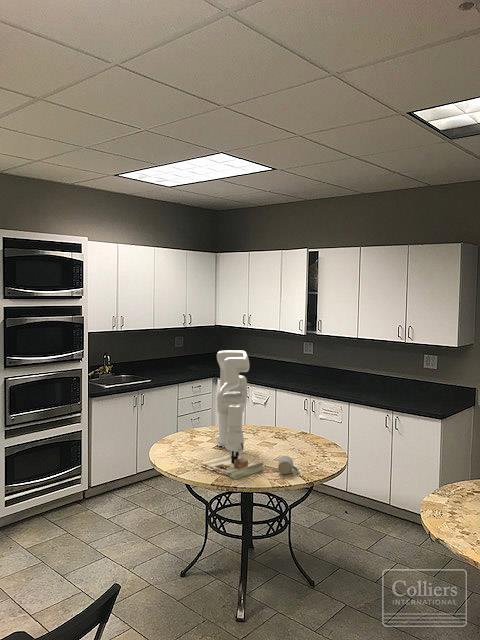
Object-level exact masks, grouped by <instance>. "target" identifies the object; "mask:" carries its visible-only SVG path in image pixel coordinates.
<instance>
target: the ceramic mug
mask: <svg viewBox="0 0 480 640" xmlns="http://www.w3.org/2000/svg"><path fill="white" fill-rule="evenodd" d="M277 465H278V466H277V469H278V472H279V473H281V474H282V475H289V474H291V473H292V474H294V475H297V474H299V472H300V470H299V468H298V467H296V466H294V460H293V459H292V458H291V457H290V456H288V455H283V456H281V457H280V458H278V464H277Z"/></svg>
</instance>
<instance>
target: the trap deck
mask: <svg viewBox="0 0 480 640" xmlns="http://www.w3.org/2000/svg"><path fill="white" fill-rule="evenodd" d="M239 458H240V457H238V459H239ZM201 465H203V466H205V467H208V468H210V469H213V470H215V471H218V472H221V473H224V474H226V475H229V476H231V477H233V478H232V479H234V478H238V479H240V477H241V478H243V476H244V477H246V475H247V476H249V475H252V474H254V473H255V474H256V473H258V472H261V471H263V470H264V462H263V461H260V462H256V463H255V462H252V461H249V460H248V467H245V468H242V469H237V468H234V464H233V463H231V455H230V454H225V455H222V456H220V457H216V458H213V459H210V460H205V461H203V462H202V461H201V462H200V466H201ZM219 467H225V468H228V469H225V468H224V469H223V468H219ZM215 471H214V472H215ZM226 475H225V476H226ZM231 477H230V478H231Z"/></svg>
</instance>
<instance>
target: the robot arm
mask: <svg viewBox="0 0 480 640" xmlns="http://www.w3.org/2000/svg"><path fill="white" fill-rule="evenodd" d="M216 360H217V363H218V365H219V368H220V372H219V373H220V374H219V375H220V376H219V377H220V379H219V381H220V382H219V383H220V385H219V386H220V389H219V390H218V392H217V396H216V402H217V403H216V404H217V405H216V408H217V410H216V411H217V414H218V434H217V435H216V436H215V437H214V438H215V440H217V441H216V442H215V445H216V444H217V445H218V446H217V445H216V446H217V447H219V446H223V447H222V448H224V447H225V450H227V451H228V452H229V453H230V454H229V455H231V463H233V464H234V460H235V459H238V458H239V456H240V455H242V454H243V453H244V449H245V439H244V438H245V437H244V432H243V413H244V412H245V408H246V406H247V400H248V399H247V398H248V397H247V396H248V394H247V393H248V379H247V377H246V376H245V375H241V374H240V373H247V372H249V370H250V360H249V356H248V354H247V351H245V350H219V351H218V352H217V354H216Z"/></svg>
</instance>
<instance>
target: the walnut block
mask: <svg viewBox="0 0 480 640" xmlns="http://www.w3.org/2000/svg"><path fill="white" fill-rule="evenodd" d="M238 458H239V459H235V460H234V468H237V469H242V468H245V467H248V461H249V460H248V459H247V458H242V457H238Z"/></svg>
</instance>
